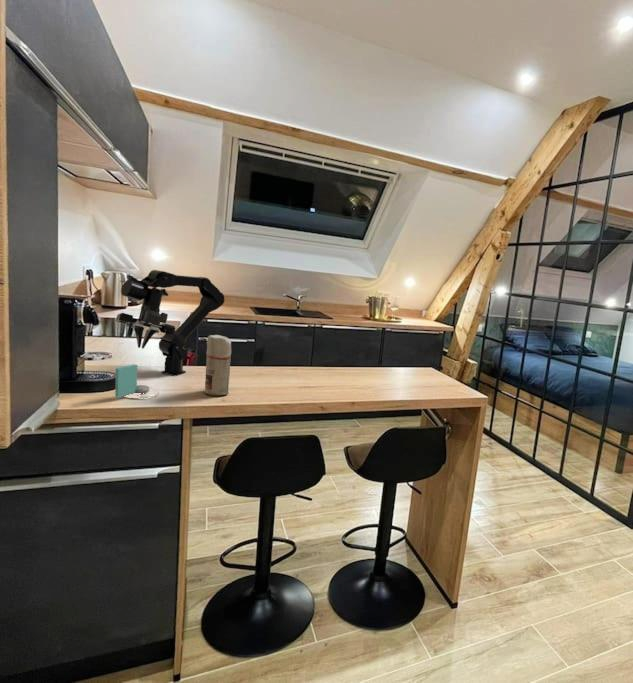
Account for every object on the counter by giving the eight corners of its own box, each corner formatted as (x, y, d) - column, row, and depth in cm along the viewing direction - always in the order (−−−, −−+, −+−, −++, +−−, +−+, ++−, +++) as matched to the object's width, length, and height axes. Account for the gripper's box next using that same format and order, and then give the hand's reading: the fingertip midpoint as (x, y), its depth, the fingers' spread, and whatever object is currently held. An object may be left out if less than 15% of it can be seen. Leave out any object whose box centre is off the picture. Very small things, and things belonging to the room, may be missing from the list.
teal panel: (142, 387, 132) (142, 360, 130) (152, 390, 130) (153, 363, 128) (111, 395, 122) (111, 366, 121) (122, 399, 120) (122, 370, 118)
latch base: (134, 386, 135) (134, 384, 135) (165, 390, 133) (165, 389, 133) (114, 396, 124) (114, 394, 124) (147, 401, 123) (147, 399, 123)
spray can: (202, 389, 139) (205, 332, 135) (226, 388, 142) (230, 333, 138) (205, 397, 131) (208, 337, 128) (230, 396, 134) (234, 338, 131)
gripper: (129, 294, 129) (117, 341, 127) (185, 310, 140) (175, 354, 138) (121, 298, 138) (109, 342, 135) (174, 312, 149) (164, 353, 146)
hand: (140, 348), depth 138 cm, fingers closed
